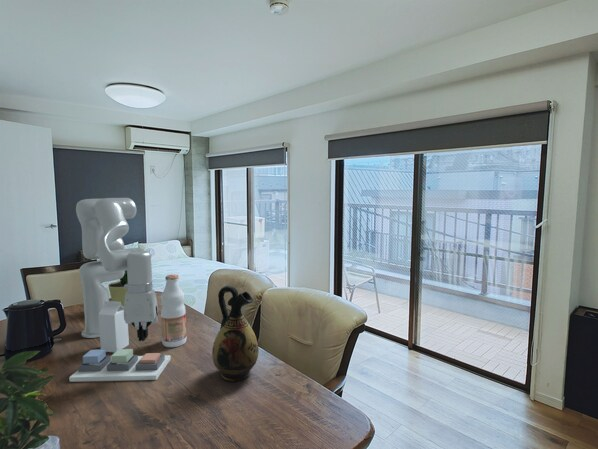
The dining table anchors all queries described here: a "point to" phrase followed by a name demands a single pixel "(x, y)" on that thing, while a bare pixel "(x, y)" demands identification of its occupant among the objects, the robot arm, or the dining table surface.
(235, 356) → the ceramic jug
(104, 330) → the milk carton
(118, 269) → the robot arm
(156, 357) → the terracotta button
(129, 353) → the sage-green button
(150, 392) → the dining table surface
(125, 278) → the potted cactus
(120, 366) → the button panel
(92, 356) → the slate-blue button
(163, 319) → the fruit juice
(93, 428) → the dining table surface
